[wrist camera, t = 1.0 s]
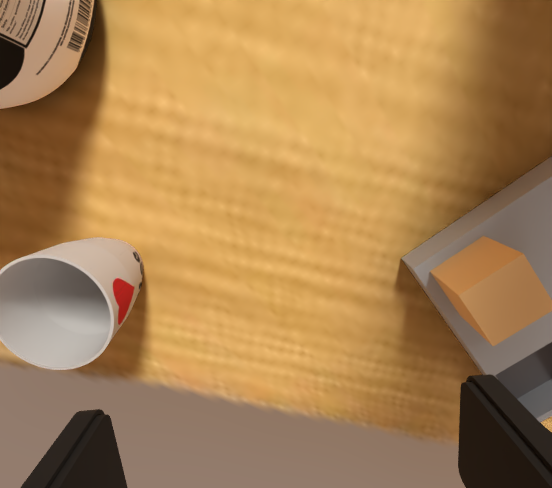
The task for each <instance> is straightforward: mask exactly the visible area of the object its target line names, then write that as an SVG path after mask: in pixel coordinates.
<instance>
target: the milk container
mask: <svg viewBox="0 0 552 488" xmlns="http://www.w3.org/2000/svg"><path fill="white" fill-rule="evenodd" d="M96 8H97V0H0V109H3V108H10V107H15V106H19V105H24V104H27V103H30V102H33V101H36V100H38V99H40V98H43V97H44V96H46V95H48V94H50V93H51V92H53V91H54V90H55V89H57V88H58V87H59V86H60V85H62V84H63V83H64V82H65V81H66V80H67V79H68V78H69V77H70V76H71V74H72V73H73V72H74V71H75V69H76V68H77V66H78V65H79V63H80V61H81V60H82V58H83V56H84V54H85V52H86V50H87V48H88V45H89V43H90V41H91V37H92V33H93V28H94V23H95V17H96Z"/></svg>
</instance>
